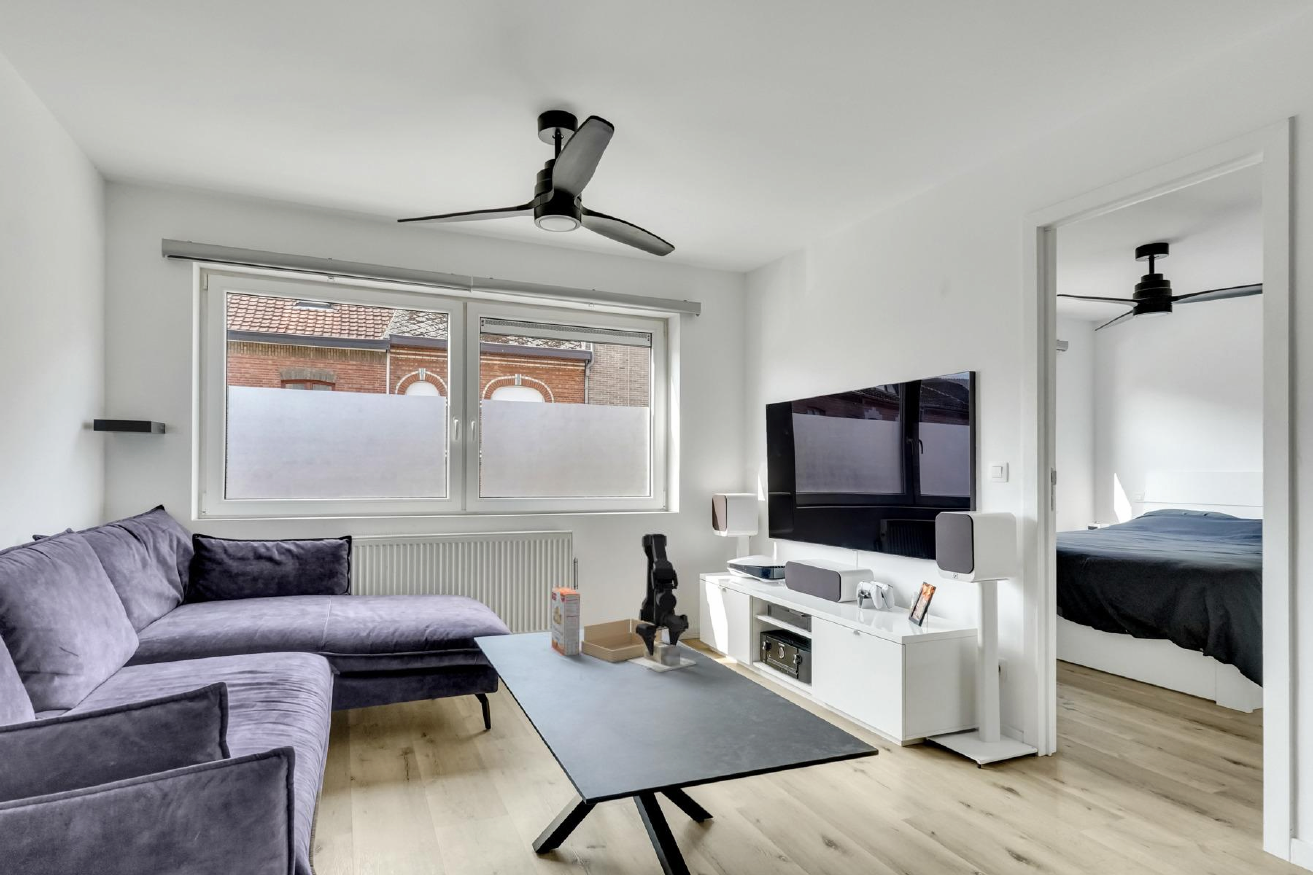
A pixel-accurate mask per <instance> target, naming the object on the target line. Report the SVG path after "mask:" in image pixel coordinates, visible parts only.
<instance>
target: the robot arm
mask: <svg viewBox="0 0 1313 875" xmlns="http://www.w3.org/2000/svg"><path fill="white" fill-rule="evenodd" d="M667 540H668V539H667V535H665V534H663V533H646V534H644V535H643V536H642V537H641V547H642V548H643V552H644V554H645V556H646V558H647V560H646V590H645V591H646V595H645V597H644V599H643V601H642V602H641V606H640V609H639V613H638V620H640V621H644V622H648V623H651V624H654V625H651V624H647V623H644V624H638V625H637V626H636V633H637V634H639V636H641V637H642V639H643V640H644V642H645V644H646V647H647V649H648V651H649V654H650V655H651V656H653V653H654V639H655V638H656V637H657V636H656V635H655V633H656V631H658V630H662V631H663V630H667V629H668V637H669V638H668V639H669V640H668V641H669V645H675V646H677V643H678V641H679V639H680V636H681V635H682V634H683V633H684V632H686V630H688V629H689V628H690V627H689V620H688V619H689V618H688V615H687V614H686V613H683V614H680V615H678V614H676V610H675V608H676V606H677V604H678V600H677V597H676V596H675V595H674V593H673V590H677V589H678V586H679V579H678V573H677V572H676V569H674V565H673V563H672V562H670V561H669V560H668V555H667V551H666V547H667V546H668V544H667V543H668V541H667Z"/></svg>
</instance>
